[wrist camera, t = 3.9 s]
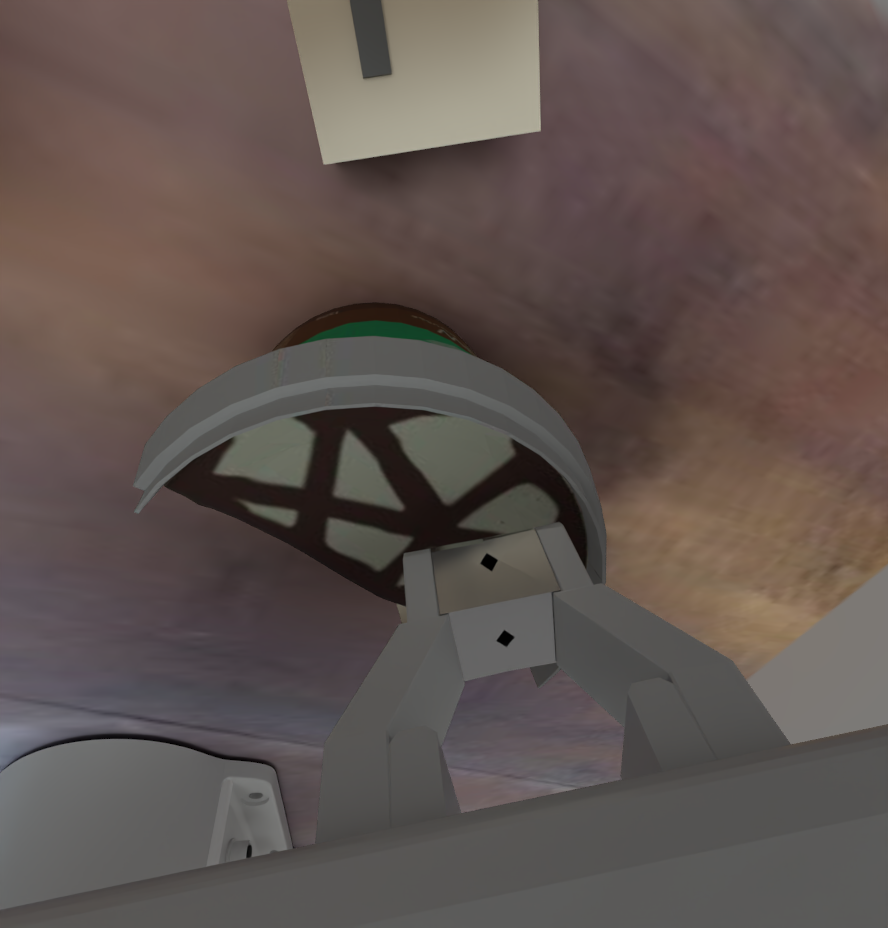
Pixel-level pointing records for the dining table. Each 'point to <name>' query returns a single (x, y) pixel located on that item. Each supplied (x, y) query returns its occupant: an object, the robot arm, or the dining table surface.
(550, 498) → the food container
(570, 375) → the dining table surface
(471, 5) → the numbered block seven
